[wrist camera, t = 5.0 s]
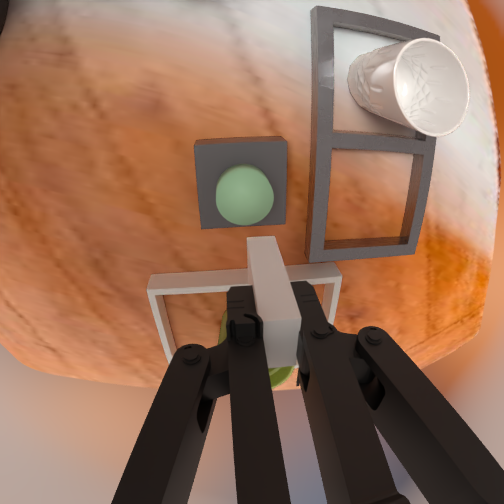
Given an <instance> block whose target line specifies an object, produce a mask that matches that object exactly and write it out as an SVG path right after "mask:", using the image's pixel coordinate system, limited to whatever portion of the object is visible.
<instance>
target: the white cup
mask: <svg viewBox="0 0 504 504" xmlns="http://www.w3.org/2000/svg"><path fill="white" fill-rule="evenodd" d="M347 79H348V84H349V89H350V93H351V95H352V96H353V97H354V99H355V100H356V102H357V103H358V105H359V106H361V107H363V108H364V109H366V110H367V111H369V112H371V113H374V114H377V115H379V116H381V117H383V118H385V119H388V120H391V121H393V122H395V123H398V124H401V125H403V126H406V127H409V128H411V129H414V130H416V131H418V132H421V133H423V134H426V135H429V136H434V137H440V136H445V135H448V134H450V133H452V132H453V131H454V130H456V129H457V128H458V127H459V126H460V124H461V123H462V121H463V120H464V118H465V116H466V113H467V110H468V106H469V100H470V89H469V82H468V78H467V75H466V72H465V69H464V67H463V65H462V63H461V62H460V60H459V59H458V57H457V56H456V55H455V53H454V52H453V51H452V50H451V49H450V48H448V47H447V46H446V45H444V44H443V43H441V42H439V41H437V40H434V39H430V38H419V39H414V40H410V41H405V42H401V43H397V44H392V45H388V46H384V47H381V48H378V49H375V50H373V51H372V52H369V53H366V54H363V55H360V56H358V57H357V58H356V60H355V61H354V62H353V63H352V64H351V65H350V70H349V74H348V78H347Z"/></svg>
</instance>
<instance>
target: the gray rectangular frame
mask: <svg viewBox="0 0 504 504" xmlns="http://www.w3.org/2000/svg"><path fill="white" fill-rule="evenodd" d="M285 268H286V272H287V275H288V278H289V281H290V282H294V281H307V282H309V283H310V284H311V285H315V284H325V287H324V294H323V301H322V309H323V311H324V314H325V316H326V319H327V321H328V323H330V324H332V325H333V323H334V318H335V313H336V308H337V303H338V298H339V293H340V287H341V282H342V274H341V273H340V271H339V269H338V268H337V266H336V264H335V262H327V263H314V264H300V265H287V266H285ZM248 285H249V283H248V268H244V269H228V270H213V271H197V272H180V273H163V274H151V276H150V279H149V282H148V286H147V289H146V290H147V294H148V298H149V302H150V305H151V309H152V312H153V316H154V319H155V322H156V326H157V329H158V332H159V336H160V339H161V342H162V345H163V348H164V351H165V354H166V357H167V360H168V363H169V364H170V362H171V360H172V358H173V355H174V353H175V352H176V351H177V349H176V345H175V342H174V338H173V334H172V331H171V327H170V323H169V319H168V315H167V311H166V307H165V303H164V299H163V295H171V294H191V293H208V292H224V291H228V290H229V289H230V287H232V286H248ZM294 368H299V365H298V361H297V360H296V365H295V367H294Z"/></svg>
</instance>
